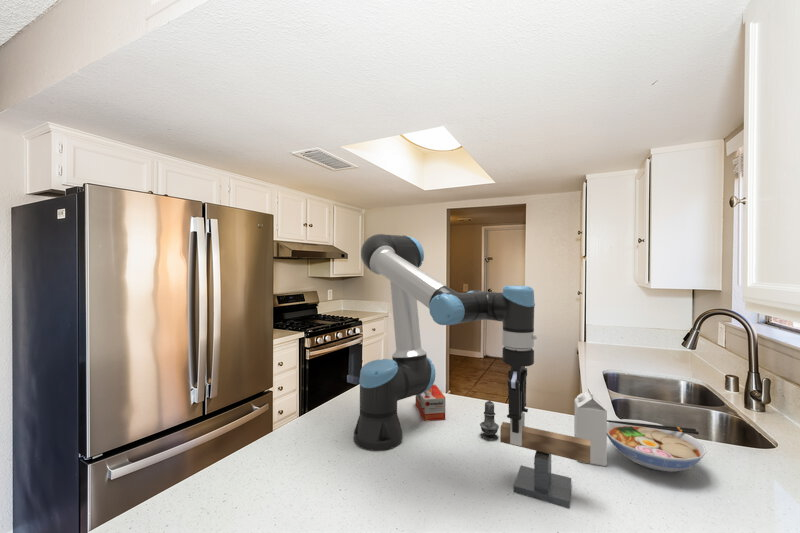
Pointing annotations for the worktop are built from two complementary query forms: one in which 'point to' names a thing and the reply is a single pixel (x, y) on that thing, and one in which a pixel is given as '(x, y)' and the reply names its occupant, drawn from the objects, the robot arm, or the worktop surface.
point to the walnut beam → (550, 443)
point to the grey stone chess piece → (489, 423)
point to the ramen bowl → (656, 444)
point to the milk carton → (592, 425)
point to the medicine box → (431, 404)
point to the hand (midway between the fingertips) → (517, 440)
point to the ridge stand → (543, 482)
